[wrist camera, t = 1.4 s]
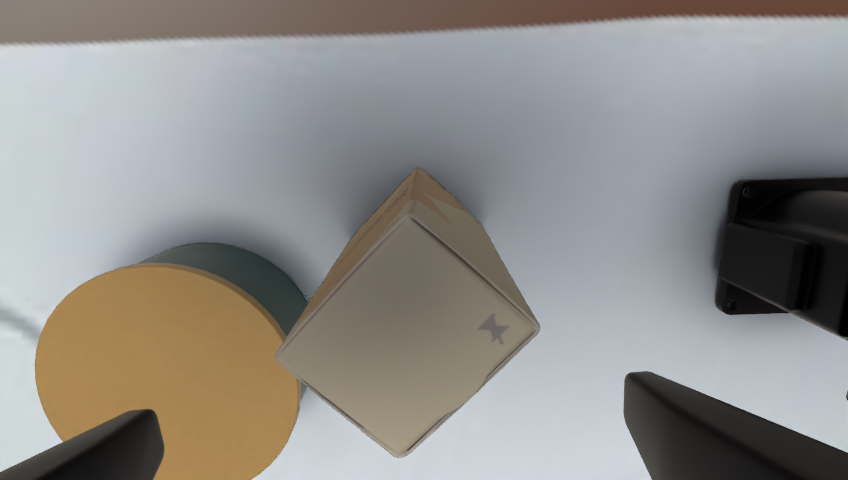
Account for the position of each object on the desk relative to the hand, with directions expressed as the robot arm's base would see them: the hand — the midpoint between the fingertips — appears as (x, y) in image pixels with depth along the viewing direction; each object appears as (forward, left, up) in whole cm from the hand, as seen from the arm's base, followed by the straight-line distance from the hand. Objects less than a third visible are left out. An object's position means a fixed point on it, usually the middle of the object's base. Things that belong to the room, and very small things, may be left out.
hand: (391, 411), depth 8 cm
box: (0, 0, -13) cm, 13 cm away
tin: (+10, +5, -13) cm, 17 cm away
